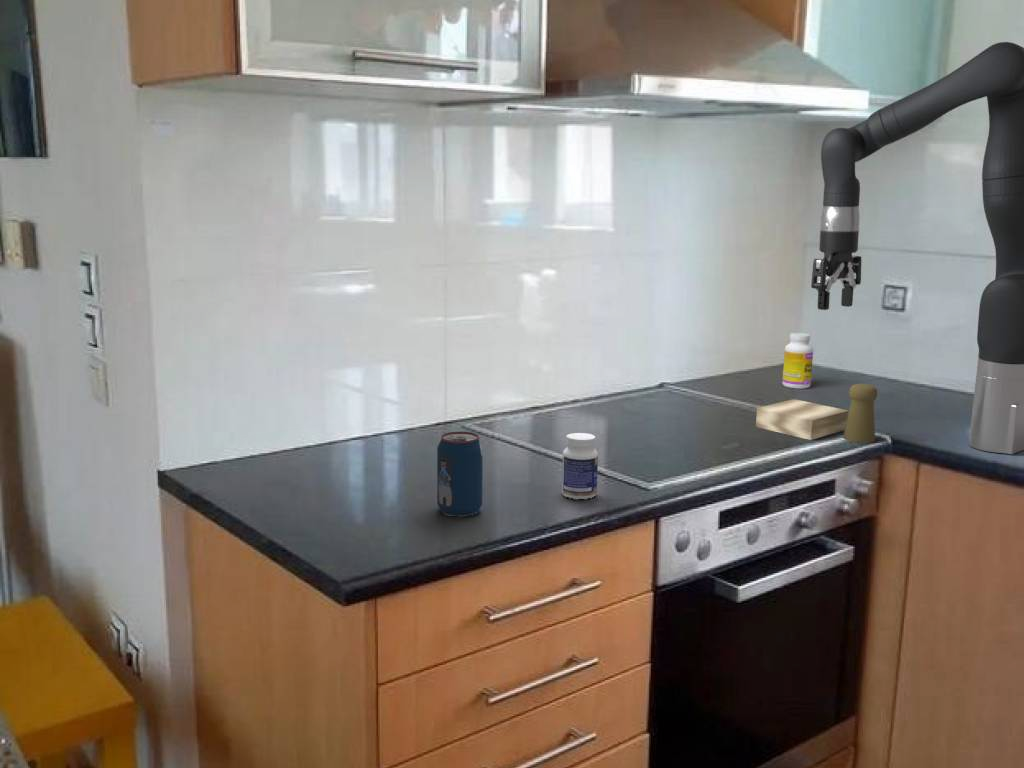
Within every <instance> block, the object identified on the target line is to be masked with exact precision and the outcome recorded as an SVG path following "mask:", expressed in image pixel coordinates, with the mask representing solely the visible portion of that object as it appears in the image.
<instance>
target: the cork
mask: <svg viewBox="0 0 1024 768" xmlns="http://www.w3.org/2000/svg"><path fill="white" fill-rule="evenodd" d="M848 395H849V399H850V401H851V402H850V406H849V410H848V419H847V423H846V428H845V430H844V431H843V432H844V433H843V439H844V440H846V441H848V442H851V443H858V444H867V443H868V444H869V443H870V444H871V443H874V442H876V431H875V430H876V428H875V409H874V408H875V407H874V404H875V403H874V402H875V401H876V399H877V397H878V390H877V388H876V386H874V385H872V384H868V383H856V384H853V385H851V386H850V388H849V393H848Z"/></svg>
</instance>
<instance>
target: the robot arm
mask: <svg viewBox="0 0 1024 768" xmlns="http://www.w3.org/2000/svg"><path fill="white" fill-rule="evenodd" d="M983 98H986V100H987V107H988V110H987V111H988V119H989V120H988V123H989V124H988V127H989V128H988V136H987V140H986V146H985V151H984V153H983V154H984V156H983V161H982V169H981V170H982V171H981V183H982V184H981V185H982V189H981V190H982V203H983V210H984V214H985V219H986V222H987V225H988V228H989V232H990V234H991V237H992V241H993V245H994V248H995V249H994V250H995V251H994V252H995V276H994V277H995V279H994V280H992V281H990V282H989V283H988V284H987V285H986V286H985V288H984V290H983V291H982V293H981V296H980V301H979V309H978V321H977V333H976V335H977V336H976V337H977V338H976V342H977V346H978V357H977V358H978V359H977V366H976V375H975V382H974V383H975V384H974V392H973V393H974V394H973V400H972V401H973V402H972V411H971V419H970V428H969V429H970V430H969V437H968V446H970V447H972V448H974V449H976V450H980V451H983V452H991V453H996V454H1008V455H1014V454H1016V453H1019V452H1022V451H1024V47H1023V46H1020V45H1019V44H1017V43H1014V42H1010V41H1002V42H997V43H994V44H991V45H990V46H988V47H987V48H985V49H984V50H983V51H981V52H980V53H978V54H977V55H975V56H974V57H973V58H971V59H969V60H967V62H965V63H964V64H961V66H959V67H958V68H956V69H955V70H953V71H952V72H950V73H948V74H946V75H944V77H942V78H940V79H938V80H936V81H935V82H932V83H931V84H929V85H926V86H925V87H923V88H921V89H919V90H917V91H915V92H912V93H910V94H908V95H906V96H903V97H902V98H900V99H898V100H895V101H893V102H892V103H890V104H887V105H886V106H883V107H882V108H880V109H878V110H875V111H874V112H873V113H872V114H870V115H869V116H868V118H867V119H865V120H863V121H861V122H860V123H858V124H856V125H853V126H850V127H848V128H847V127H838V128H837V127H836V128H834V129H832V130H830V131H829V132H827V134H826V135H825V136H824V138H823V140H822V144H821V149H820V160H821V161H820V163H821V171H822V177H823V182H824V183H823V185H824V186H823V187H824V188H823V201H822V210H821V211H822V212H821V216H820V230H819V233H820V234H819V249H818V250H819V252H821V253H823V258H821V259H820V258H814V259H813V262H812V272H811V273H812V274H811V283H810V285H811V288H812V289H815V290H816V291H817V309H818V310H820V311H822V310H823V311H827V310H829V309H830V296H831V293H830V290H831V288H832V286H833V284H835V283H837V280H838V281H840V283H841V285H842V288H841V298H840V299H841V306H842V307H852V306H853V300H854V299H853V298H854V289H855V288H856V287H857V285H859V286H860V284H861V281H862V256H859V255H853V254H855V253H857V252H858V250H859V236H860V235H859V233H860V198H861V197H860V194H861V193H860V192H861V183H860V180H859V179H858V177H856V163H858V162H860V161H862V160H864V159H866V158H868V157H870V156H871V155H873V154H874V153H876V152H878V151H879V150H881V149H882V148H884V147H885V146H888V145H890V144H893V143H895V142H898V141H900V140H902V139H904V138H906V137H909V136H911V135H912V134H915V133H917V132H918V131H920V130H922V129H924V128H926V127H927V126H929V125H930V124H932V123H933V122H935V121H937V120H938V119H940V118H941V117H943V116H944V115H946V114H947V113H949V112H951V111H953V110H954V109H956V108H958V107H961V106H963V105H966V104H968V103H970V102H973V101H976V100H980V99H983ZM818 279H819V281H818Z"/></svg>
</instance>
